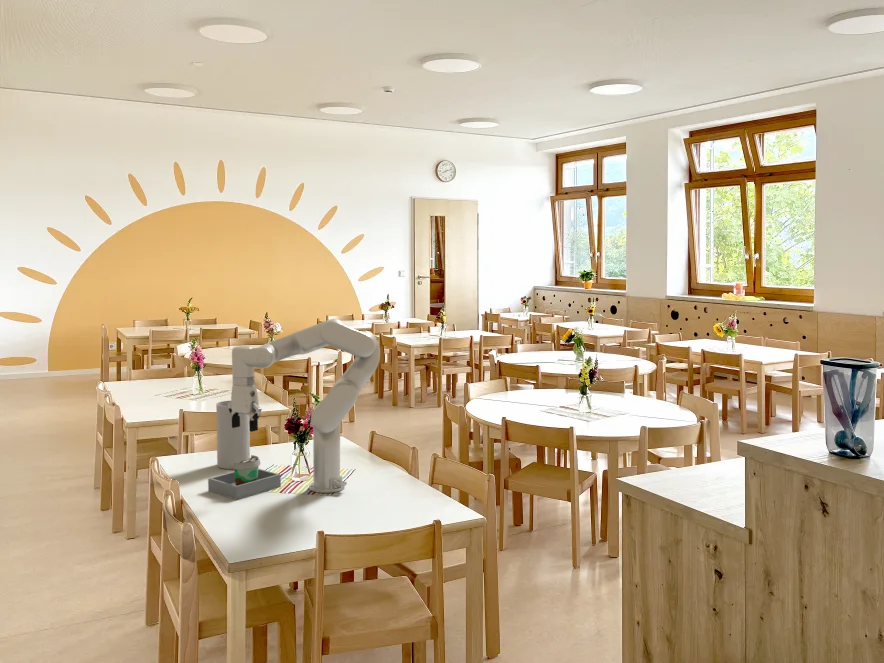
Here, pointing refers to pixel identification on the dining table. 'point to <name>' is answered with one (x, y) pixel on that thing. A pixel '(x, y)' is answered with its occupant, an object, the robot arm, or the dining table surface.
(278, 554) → the dining table surface
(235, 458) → the cylinder vase
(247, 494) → the bin
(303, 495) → the dining table surface
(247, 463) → the food container
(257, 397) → the robot arm
